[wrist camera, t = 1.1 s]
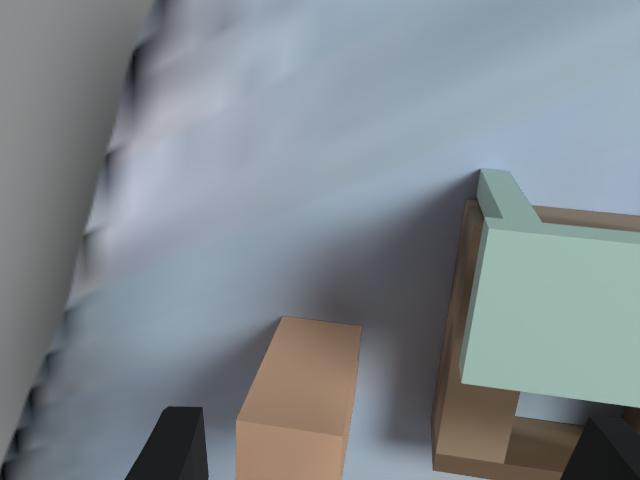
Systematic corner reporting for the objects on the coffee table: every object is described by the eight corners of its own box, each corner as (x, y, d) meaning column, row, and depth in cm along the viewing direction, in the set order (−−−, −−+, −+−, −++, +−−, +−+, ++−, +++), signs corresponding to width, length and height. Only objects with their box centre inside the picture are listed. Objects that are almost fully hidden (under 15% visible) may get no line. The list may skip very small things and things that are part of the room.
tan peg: (355, 393, 29) (335, 518, 22) (280, 382, 30) (235, 501, 22) (361, 326, 28) (342, 436, 20) (282, 316, 28) (235, 420, 21)
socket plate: (677, 456, 27) (713, 514, 24) (430, 420, 29) (432, 470, 26) (763, 228, 23) (819, 261, 20) (465, 199, 25) (474, 225, 21)
